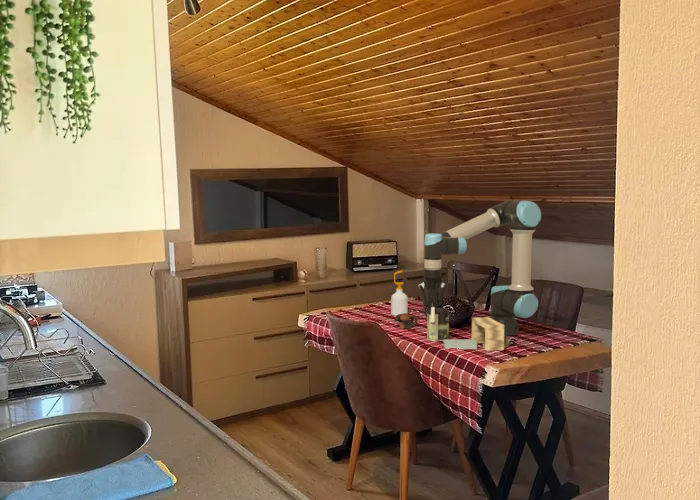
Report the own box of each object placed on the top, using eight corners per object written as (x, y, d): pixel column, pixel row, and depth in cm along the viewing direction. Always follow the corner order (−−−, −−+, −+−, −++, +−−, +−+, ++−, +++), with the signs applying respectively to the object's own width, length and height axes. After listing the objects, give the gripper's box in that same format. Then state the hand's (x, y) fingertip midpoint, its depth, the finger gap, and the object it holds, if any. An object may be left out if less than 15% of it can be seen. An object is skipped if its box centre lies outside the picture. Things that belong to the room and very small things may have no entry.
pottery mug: (394, 330, 338) (392, 314, 341) (399, 334, 346) (397, 319, 349) (417, 325, 334) (414, 309, 338) (422, 329, 343) (419, 314, 346)
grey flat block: (474, 345, 305) (474, 339, 305) (476, 349, 298) (477, 343, 298) (443, 345, 306) (443, 339, 305) (445, 349, 299) (445, 343, 298)
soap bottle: (408, 316, 368) (408, 271, 365) (391, 316, 368) (391, 271, 365) (407, 312, 377) (407, 269, 374) (390, 313, 377) (390, 269, 374)
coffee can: (449, 337, 320) (449, 307, 319) (448, 342, 310) (448, 312, 309) (427, 336, 322) (428, 307, 321) (426, 341, 312) (426, 311, 311)
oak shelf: (495, 339, 315) (496, 316, 313) (512, 349, 297) (512, 324, 296) (471, 341, 312) (471, 317, 311) (486, 350, 295) (487, 326, 293)
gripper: (444, 267, 300) (443, 319, 303) (416, 267, 298) (415, 320, 300) (449, 269, 293) (448, 322, 295) (421, 270, 290) (420, 323, 293)
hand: (431, 321), depth 298 cm, fingers closed
